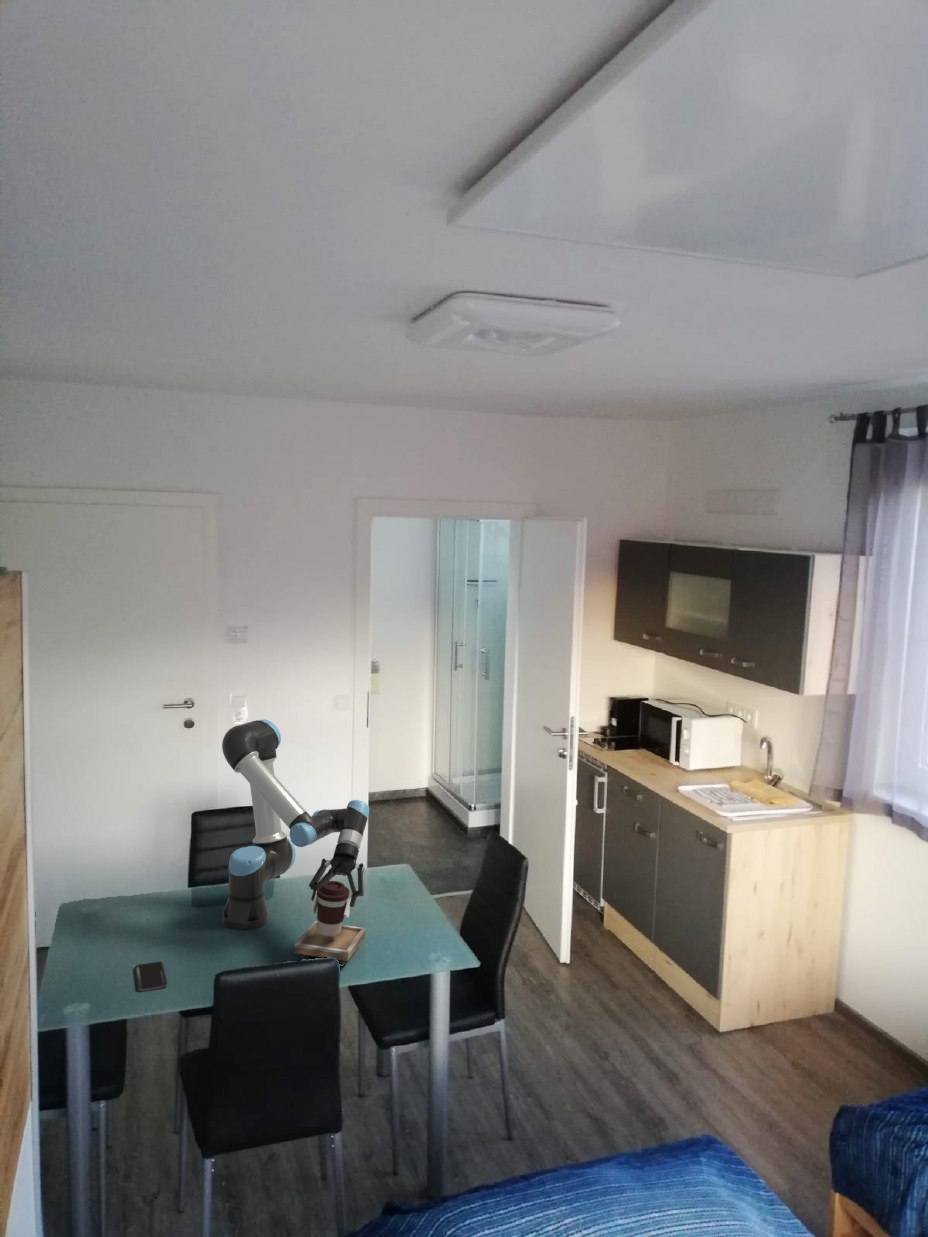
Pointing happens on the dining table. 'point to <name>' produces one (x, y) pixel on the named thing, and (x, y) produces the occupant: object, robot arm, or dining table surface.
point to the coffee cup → (331, 907)
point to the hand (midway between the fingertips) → (329, 914)
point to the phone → (150, 976)
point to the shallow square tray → (330, 943)
